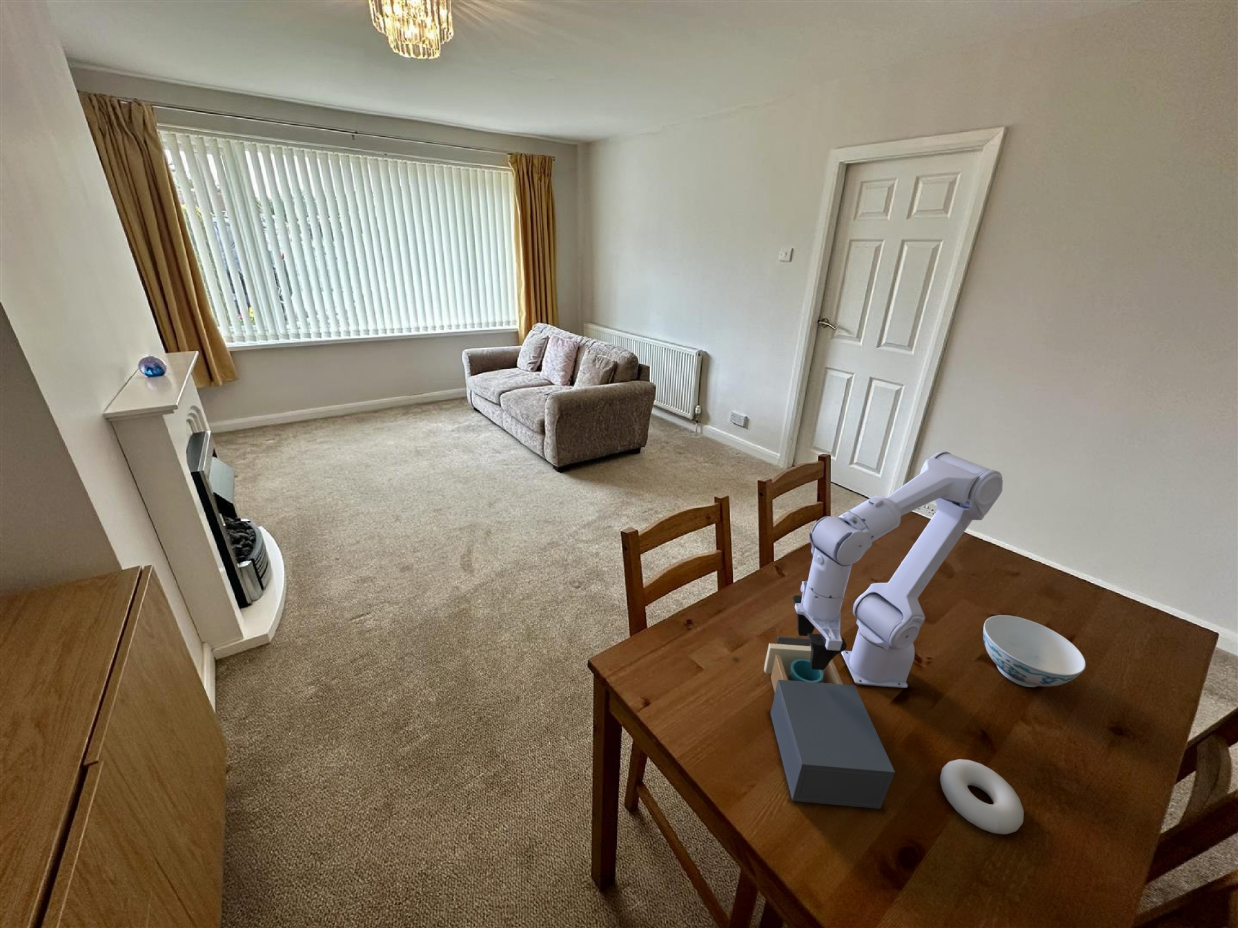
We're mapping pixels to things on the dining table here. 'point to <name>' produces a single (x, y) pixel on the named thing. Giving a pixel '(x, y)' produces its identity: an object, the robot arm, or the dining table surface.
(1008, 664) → the chinaware
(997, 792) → the donut
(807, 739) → the cabinet
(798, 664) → the cup
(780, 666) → the drawer
